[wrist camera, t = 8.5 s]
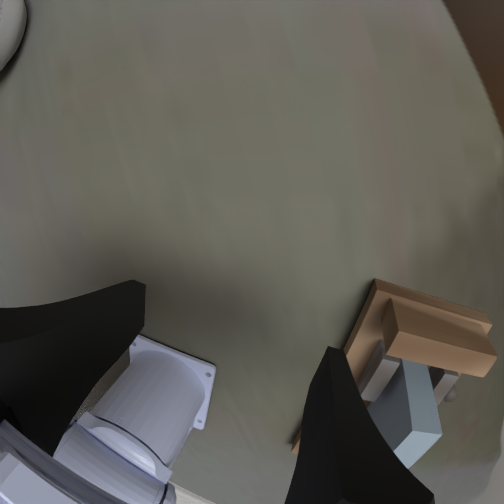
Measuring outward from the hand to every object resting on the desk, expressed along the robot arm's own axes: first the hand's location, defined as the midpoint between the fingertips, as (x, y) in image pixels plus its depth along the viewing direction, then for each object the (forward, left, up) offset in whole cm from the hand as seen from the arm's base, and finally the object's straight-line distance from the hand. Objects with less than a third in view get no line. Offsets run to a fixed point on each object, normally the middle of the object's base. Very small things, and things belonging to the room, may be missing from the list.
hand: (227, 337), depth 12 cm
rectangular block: (-9, -11, -8) cm, 16 cm away
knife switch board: (-9, -11, -9) cm, 17 cm away
